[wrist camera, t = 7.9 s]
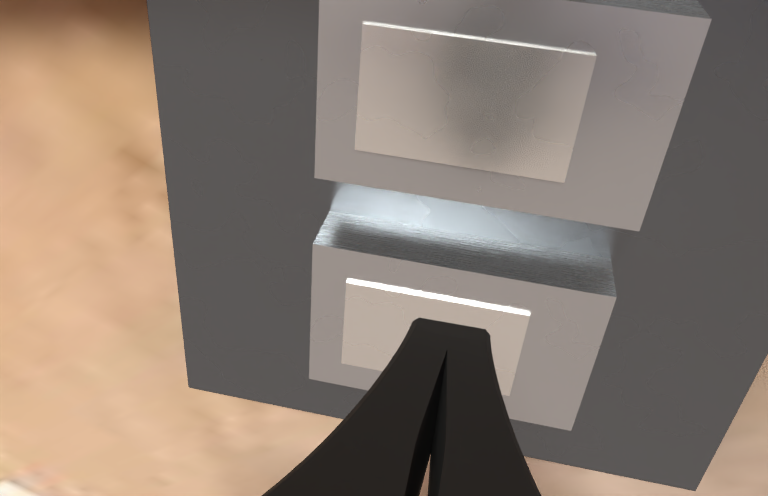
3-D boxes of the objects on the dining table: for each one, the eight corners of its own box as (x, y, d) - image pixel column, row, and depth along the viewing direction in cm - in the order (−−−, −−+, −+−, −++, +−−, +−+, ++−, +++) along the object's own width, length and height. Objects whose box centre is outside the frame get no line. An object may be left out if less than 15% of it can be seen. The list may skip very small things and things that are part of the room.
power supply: (695, -3, 15) (712, 20, 14) (631, 195, 18) (639, 234, 16) (340, -48, 16) (319, -31, 14) (332, 147, 19) (313, 179, 17)
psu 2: (610, 258, 19) (616, 300, 17) (569, 388, 22) (571, 433, 20) (329, 210, 20) (311, 246, 18) (324, 340, 23) (308, 381, 21)
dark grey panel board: (1121, -373, 12) (1258, -414, 9) (690, 471, 24) (706, 540, 22) (119, -436, 14) (37, -482, 11) (197, 372, 26) (165, 426, 24)
